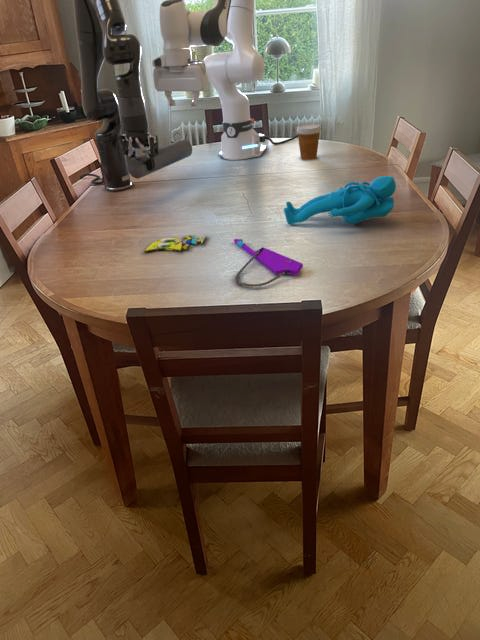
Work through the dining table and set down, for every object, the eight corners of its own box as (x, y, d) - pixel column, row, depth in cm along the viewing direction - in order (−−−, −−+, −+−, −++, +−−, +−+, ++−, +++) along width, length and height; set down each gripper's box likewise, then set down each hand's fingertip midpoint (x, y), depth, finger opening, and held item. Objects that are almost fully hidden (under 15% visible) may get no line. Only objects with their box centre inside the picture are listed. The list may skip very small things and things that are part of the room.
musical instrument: (279, 298, 104) (317, 250, 116) (277, 290, 102) (316, 243, 115) (192, 283, 116) (235, 241, 129) (190, 275, 115) (233, 234, 127)
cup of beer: (293, 160, 191) (293, 129, 184) (300, 154, 198) (300, 123, 192) (317, 161, 188) (317, 129, 181) (323, 154, 195) (323, 123, 188)
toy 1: (199, 248, 125) (143, 249, 127) (199, 251, 125) (144, 252, 127) (206, 233, 133) (154, 234, 135) (206, 236, 133) (154, 237, 136)
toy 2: (287, 190, 142) (392, 164, 131) (296, 223, 147) (398, 200, 137) (279, 211, 128) (395, 184, 118) (289, 247, 133) (402, 223, 123)
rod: (144, 179, 148) (140, 159, 145) (129, 177, 151) (125, 158, 148) (193, 157, 166) (191, 139, 163) (179, 156, 169) (177, 138, 166)
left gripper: (160, 110, 142) (169, 168, 151) (124, 109, 148) (134, 164, 157) (143, 116, 136) (153, 175, 145) (107, 114, 143) (119, 171, 152)
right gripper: (210, 57, 152) (214, 105, 159) (160, 59, 161) (166, 104, 168) (198, 59, 147) (203, 108, 154) (148, 61, 157) (154, 107, 164)
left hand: (143, 169), depth 151 cm, fingers closed on rod, 6 cm apart
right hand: (183, 106), depth 161 cm, fingers open, 8 cm apart
